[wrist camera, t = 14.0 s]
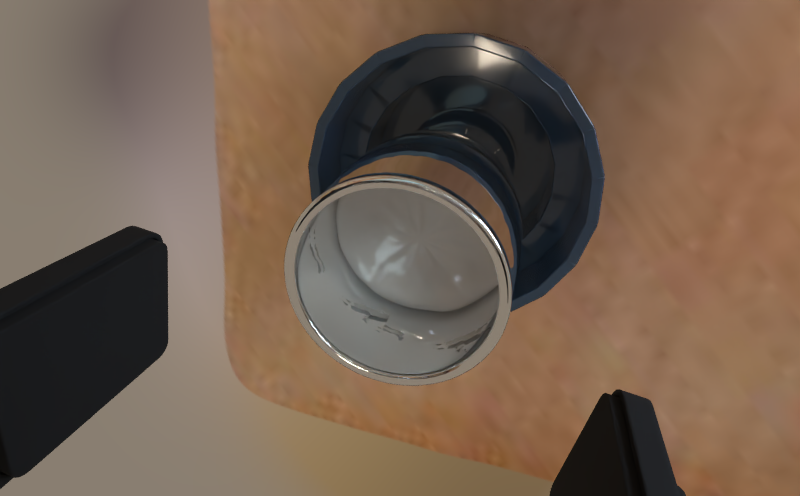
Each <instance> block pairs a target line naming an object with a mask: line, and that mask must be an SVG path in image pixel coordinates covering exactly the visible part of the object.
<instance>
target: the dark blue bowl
mask: <svg viewBox="0 0 800 496" xmlns="http://www.w3.org/2000/svg"><path fill="white" fill-rule="evenodd" d="M455 108H470V109H475V110H479V111H482V112H484V113H486V114H488V115H490V116H492V117H493V118H495V119H496V120H497V121H498V122H500V123H501V124H502V125H503V126H504V128H505V129H506V130H507V131H508V133H509V134H510V136H511V138H512V140H513V142H514V145H515V148H516V152H517V160H518V166H517V174H516V178H515V181H514V186H515V189H516V192H517V195H518V198H519V202H520V206H521V212H522V226H523V245H522V253H521V261H520V267H519V272H518V276H517V281H516V285H515V289H514V293H513V296H512V303H511V310H510V312H512V311H514V310H516V309H518V308H520V307H522V306H524V305H526V304H528V303H530V302H532V301H534V300H536V299H538V298H540V297H542V296H544V295H545V294H546V293H547V292H548V291H549V290H550V289H552V288H553V287H554V286H555V285H556V284H557V283H558V282H559V281H560V280H561V279H562V278H563V277H564V276H565V275H566V274H567V273H568V272H569V271H571V270H572V269H573V268H574V267H575V266H576V264H577V263H578V261H579V259H580V257H581V255H582V253H583V251H584V250H585V248H586V246H587V244H588V242H589V240H590V238H591V236H592V234H593V233H594V231H595V229H596V227H597V224H598V220H599V214H600V207H601V200H602V193H603V187H604V180H605V177H604V176H605V174H604V169H603V165H602V160H601V155H600V150H599V145H598V140H597V135H596V130H595V128H594V125H593V124H592V122H591V120H590V119H589V117H588V115H587V114H586V112H585V111H584V109H583V107H582V106H581V104H580V102H579V101H578V99H577V98H576V96H575V94H574V93H573V91H572V89H571V88H570V86H569V85H568V83H567V82H566V80H565V79H564V78H563V76H562V75H561V74H560V73H559V72H558V71H557V70H556V69H555V68H553V67H552V66H551V65H549V64H548V63H547V62H546V61H544V60H543V59H542V58H541V57H539V56H538V55H537V54H536V53H534V52H533V51H532V50H530V49H529V48H528V47H526V46H523V45H520V44H517V43H514V42H511V41H508V40H505V39H502V38H499V37H496V36H493V35H490V34H485V33H453V34H424V35H419V36H417V37H414V38H412V39H409V40H407V41H404V42H401V43H399V44H396V45H394V46H391V47H389V48H386V49H383V50H381V51H378V52H377V53H375V54H374V55H372V56H371V57H370V58H369V59H368V60H367V61H365V62H364V63H363V64H362V65H361V66H360V67H358V68H357V69H356V70H355V71H354V72H353V73H351V74H350V75H349V76H348V77H347V78H346V79H344V80H343V81H342V82H341V84H339V86H338V88H337V89H336V91H335V93H334V94H333V96H332V98H331V100H330V101H329V103H328V105H327V107H326V108H325V110H324V112H323V113H322V115H321V117H320V119H319V120H318V123H317V126H316V130H315V135H314V140H313V145H312V149H311V154H310V159H309V164H308V165H309V166H308V168H309V178H310V188H311V198H312V201H314V200H315V199H316V198H317V197H318V196H320V195H321V194H322V193H323V192H324V191H325V190H326V189H327V188H328V186H329V185H330V184H331V183H332V182H333V181H334V180H335V179H336V178H337V177H338V176H339V175H340V174H341V173H342V172H343V171H344V170H345V169H346V168H348V167H349V166H350V165H351V164H352V163H354V162H355V161H356V160H357V159H358V158H360V157H361V156H362V155H363V154H365V153H366V152H368V151H369V150H371V149H373V148H375V147H376V146H378V145H380V144H381V143H383V142H385V141H387V140H389V139H391V138H394V137H396V136H399V135H403V134H407V133H411V132H415V131H417V130H418V128H419V127H420V126H421V125H422V124H423V123H424V122H425V121H426V120H428V119H429V118H430V117H432V116H433V115H435V114H437V113H439V112H442V111H445V110H449V109H455Z"/></svg>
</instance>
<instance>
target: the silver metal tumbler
mask: <svg viewBox="0 0 800 496" xmlns="http://www.w3.org/2000/svg"><path fill="white" fill-rule="evenodd" d="M517 166H518V160H517V152H516V148H515V145H514V142H513V140H512V138H511V136H510V134H509V133H508V131H507V130H506V129H505V128H504V126H503V125H502V124H501V123H500V122H498V121H497V120H496V119H495V118H493V117H492V116H490V115H488V114H486V113H484V112H482V111H479V110H475V109H470V108H455V109H449V110H445V111H442V112H439V113H437V114H435V115H433V116H432V117H430V118H429V119H428V120H426V121H425V122H424V123H423V124H422V125H421V126H420V127H419V128H418V130H417V131H415V132H411V133H407V134H403V135H399V136H396V137H394V138H391V139H389V140H387V141H385V142H383V143H381V144H380V145H378V146H376V147H375V148H373V149H371V150H369V151H368V152H366V153H365V154H363V155H362V156H361V157H360V158H358V159H357V160H356V161H355V162H354V163H352V164H351V165H350V166H349V167H348V168H346V169H345V170H344V171H343V172H342V173H341V174H340V175H339V176H338V177H337V178H336V179H335V180H334V181H333V182H332V183H331V184H330V185H329V186H328V188H327V189H326V190H325V191H324V192H323V193H322V194H321V195H320V196H318V197H317V198H316V199H315V200H314V201H312V202H311V203H310V204H309V205H308V207H307V208H306V209H305V210H304V211H303V212H302V214H301V215H300V217H299V218H298V220H297V221H296V223H295V225H294V227H293V229H292V231H291V234H290V236H289V239H288V243H287V247H286V252H285V259H284V274H285V282H286V288H287V292H288V296H289V299H290V302H291V304H292V307H293V309H294V311H295V313H296V315H297V317H298V319H299V321H300V323H301V324H302V326H303V327H304V329H305V330H306V332H307V333H308V334H309V335H310V337H311V338H312V339H313V340H314V341H315V342H316V344H317V345H318V346H319V347H320V348H321V349H322V350H324V351H325V352H326V353H327V354H328V355H329V356H331V357H332V358H333V359H335V360H336V361H337V362H339V363H340V364H342V365H343V366H345V367H347V368H349V369H350V370H352V371H354V372H356V373H358V374H361V375H363V376H365V377H368V378H371V379H374V380H377V381H381V382H385V383H390V384H396V385H407V386H419V385H429V384H435V383H440V382H443V381H447V380H450V379H453V378H455V377H458V376H460V375H462V374H464V373H466V372H467V371H469V370H471V369H472V368H474V367H475V366H476V365H478V364H479V363H480V362H481V361H482V360H484V359H485V358H486V357H487V356H488V355H489V353H490V352H491V351H492V350H493V349H494V347H495V346H496V345H497V343H498V341H499V340H500V338H501V336H502V334H503V332H504V330H505V328H506V325H507V322H508V319H509V315H510V310H511V303H512V296H513V293H514V289H515V285H516V281H517V276H518V272H519V267H520V261H521V253H522V245H523V226H522V212H521V206H520V202H519V198H518V195H517V192H516V189H515V186H514V181H515V178H516V174H517Z"/></svg>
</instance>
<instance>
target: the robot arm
mask: <svg viewBox="0 0 800 496" xmlns="http://www.w3.org/2000/svg"><path fill="white" fill-rule="evenodd" d="M167 253H168V251H167V246H166V244H164V243H163V240H162V238H161V236H160V235H159V234H157V233H154V232H151V231H148V230H145V229H142V228H139V227H136V226H129V227H126V228H125V229H122V230H120V231H118V232H116V233H114V234H112V235H110V236H108V237H106V238H104V239H102V240H100V241H98V242H96V243H93V244H91V245H89V246H87V247H85V248H83V249H81V250H79V251H77V252H75V253H73V254H71V255H69V256H67V257H65V258H63V259H61V260H58V261H56V262H54V263H52V264H50V265H48V266H46V267H44V268H42V269H40V270H38V271H36V272H34V273H32V274H30V275H28V276H26V277H24V278H21V279H19V280H17V281H15V282H13V283H11V284H9V285H7V286H5V287H3V288H1V289H0V489H1V488H2V487H3V486H4V485H5V484H7V483H8V482H9V481H10V480H11V479H12V478H14V477H15V478H16V477H21V476H23V475H25V474H26V473H27V472H29V471H30V470H31V469H32V468H33V467H35V466H36V465H37V464H38V463H39V462H40V461H42V460H43V459H44V458H45V457H46V456H47V455H48V454H50V453H51V452H52V451H53V450H54V449H55V448H56V447H58V446H59V445H60V444H61V443H62V442H63V441H64V440H66V438H68V437H69V436H70V435H71V434H72V433H74V432H75V431H76V430H77V429H78V428H79V427H80V426H82V425H83V424H84V423H85V422H86V421H87V420H88V419H90V418H91V417H92V416H93V415H94V414H95V413H97V411H99V410H100V409H101V408H102V407H103V406H105V404H107V403H108V402H109V401H110V400H111V399H113V398H114V397H115V396H116V395H117V394H118V393H119V392H121V391H122V390H123V389H124V388H125V387H126V386H127V385H129V384H130V383H131V382H132V381H133V380H134V379H135V378H137V377H138V376H139V375H140V374H141V373H142V372H144V370H146V369H147V368H148V367H149V366H150V365H151V364H153V363H154V362H155V361H156V360H157V359H158V358H160V356H161V355H162V354H163V353H164V351H165V349H166V347H167V344H168V258H167V257H168V254H167ZM550 496H686V495H685V492H684V491H683V490H682V489H681V488H680V487H679V486H677V484H676V481H675V477H674V474H673V471H672V467H671V464H670V461H669V457H668V454H667V451H666V448H665V444H664V441H663V438H662V434H661V431H660V428H659V424H658V421H657V418H656V415H655V411H654V408H653V405H652V403H651V401H650V400H648V399H646V398H643V397H640V396H637V395H634V394H631V393H628V392H625V391H622V390H616V391H614V392H613V394H612V395H610V394H607V393H604V394H603V395H602V396H601V397H600V399H599V401H598V403H597V404H596V406H595V408H594V410H593V412H592V414H591V415H590V417H589V419H588V421H587V423H586V424H585V426H584V428H583V430H582V432H581V434H580V435H579V437H578V439H577V441H576V443H575V444H574V446H573V448H572V450H571V452H570V454H569V455H568V457H567V459H566V461H565V463H564V464H563V466H562V468H561V470H560V472H559V474H558V475H557V477H556V479H555V481H554V483H553V485H552V488H551V491H550Z"/></svg>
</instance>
